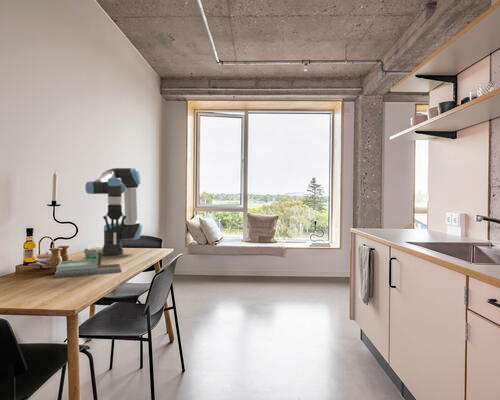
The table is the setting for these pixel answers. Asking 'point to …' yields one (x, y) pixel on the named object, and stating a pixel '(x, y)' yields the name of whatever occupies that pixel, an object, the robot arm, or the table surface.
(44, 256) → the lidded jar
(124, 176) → the robot arm
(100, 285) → the table surface
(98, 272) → the grey board
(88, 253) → the food container
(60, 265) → the pale green tray
